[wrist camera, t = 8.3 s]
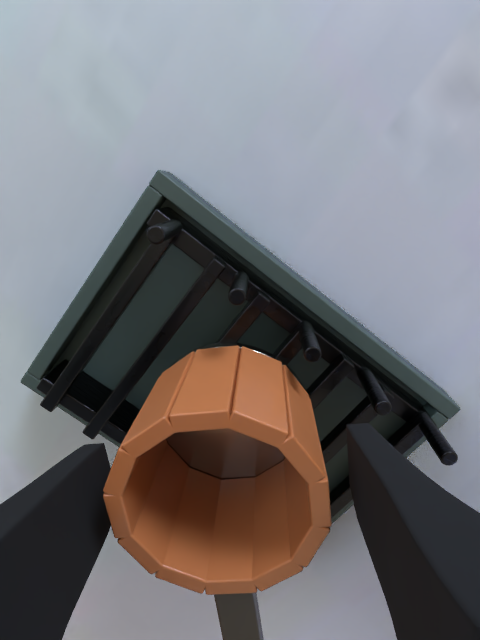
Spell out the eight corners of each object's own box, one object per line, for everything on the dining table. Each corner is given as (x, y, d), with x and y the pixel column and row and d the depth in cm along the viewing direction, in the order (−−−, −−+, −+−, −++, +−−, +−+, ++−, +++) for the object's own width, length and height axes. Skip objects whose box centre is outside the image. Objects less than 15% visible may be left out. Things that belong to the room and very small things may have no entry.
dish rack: (444, 390, 17) (513, 467, 12) (289, 533, 19) (296, 639, 15) (168, 171, 15) (124, 162, 10) (39, 366, 17) (-42, 429, 13)
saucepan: (137, 350, 14) (80, 422, 9) (304, 333, 13) (323, 402, 9) (192, 598, 17) (169, 732, 13) (326, 593, 16) (347, 731, 12)
